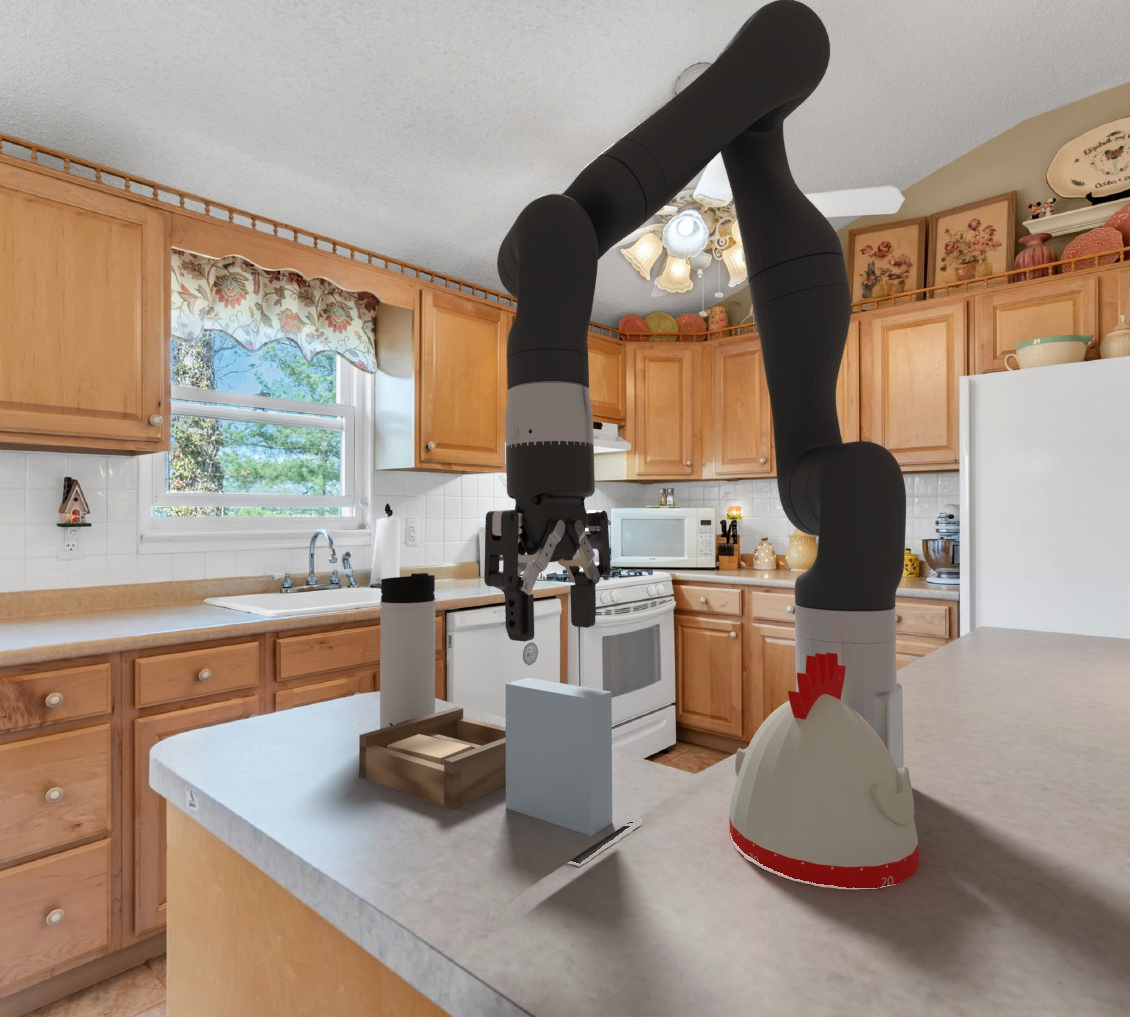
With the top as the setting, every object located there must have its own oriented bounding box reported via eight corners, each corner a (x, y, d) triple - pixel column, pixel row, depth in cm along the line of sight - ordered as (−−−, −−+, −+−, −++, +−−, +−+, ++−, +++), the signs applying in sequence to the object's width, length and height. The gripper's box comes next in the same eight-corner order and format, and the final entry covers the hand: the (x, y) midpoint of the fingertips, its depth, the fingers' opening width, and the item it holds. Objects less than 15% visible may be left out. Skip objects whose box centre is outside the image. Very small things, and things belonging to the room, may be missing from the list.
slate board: (612, 827, 56) (611, 691, 57) (591, 840, 54) (590, 698, 54) (528, 800, 62) (528, 677, 62) (505, 812, 59) (505, 683, 60)
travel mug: (396, 757, 75) (396, 574, 76) (370, 743, 80) (371, 572, 81) (446, 745, 79) (446, 572, 80) (419, 732, 84) (419, 569, 85)
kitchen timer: (945, 845, 54) (940, 654, 55) (874, 914, 45) (870, 682, 45) (782, 796, 64) (779, 635, 65) (695, 844, 55) (693, 654, 55)
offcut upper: (471, 762, 66) (471, 745, 66) (440, 775, 62) (440, 758, 62) (418, 749, 70) (418, 734, 70) (387, 761, 66) (387, 745, 66)
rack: (547, 776, 69) (547, 726, 69) (452, 820, 59) (452, 762, 59) (456, 751, 77) (456, 707, 77) (359, 786, 67) (359, 734, 67)
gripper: (529, 430, 51) (534, 650, 50) (631, 445, 62) (635, 625, 62) (458, 440, 55) (462, 642, 55) (565, 452, 67) (569, 619, 66)
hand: (554, 632), depth 58 cm, fingers open, 8 cm apart
